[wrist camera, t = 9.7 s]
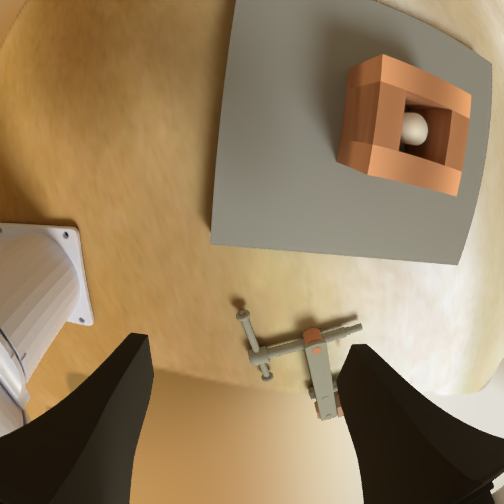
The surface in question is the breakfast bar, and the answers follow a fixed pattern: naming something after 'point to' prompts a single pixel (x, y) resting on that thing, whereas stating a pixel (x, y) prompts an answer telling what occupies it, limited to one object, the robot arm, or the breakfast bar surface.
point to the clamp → (316, 358)
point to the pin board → (334, 135)
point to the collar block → (391, 120)
